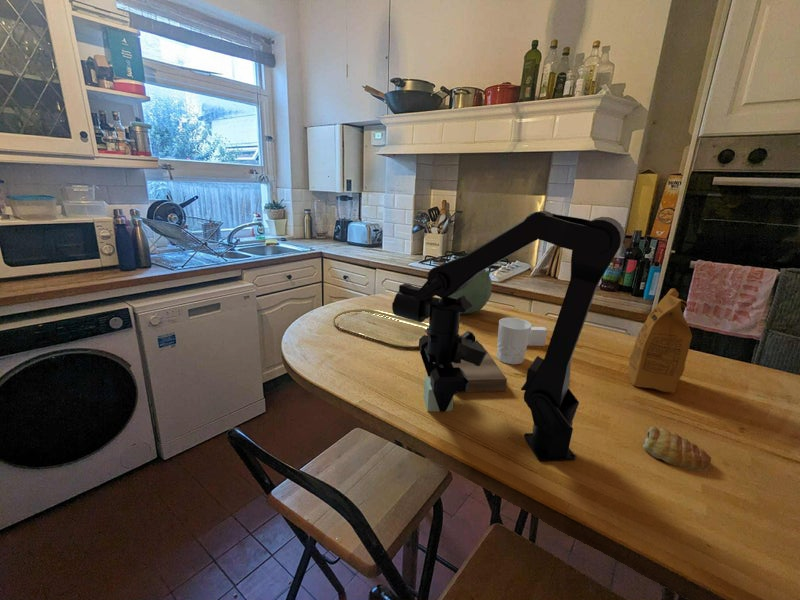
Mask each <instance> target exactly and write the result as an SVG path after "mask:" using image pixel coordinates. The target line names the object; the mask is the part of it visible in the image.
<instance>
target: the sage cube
mask: <svg viewBox="0 0 800 600" xmlns="http://www.w3.org/2000/svg"><path fill="white" fill-rule="evenodd" d="M430 382H431V379H430V377H428V376H424V384H423V385H424V386H423V400H424V404H425V407H426V412H440V411H439V408H438V405H437V402H436V399H435V396H434V393H433V390H432V387H431V384H430ZM453 403H454V396H453V397H452V399H451V401H450V404H449V406H448V408H447V410H446V412H452V411H453Z"/></svg>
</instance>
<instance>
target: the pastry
mask: <svg viewBox="0 0 800 600" xmlns="http://www.w3.org/2000/svg"><path fill="white" fill-rule="evenodd" d="M646 435H647V437H646V438H645V440H644V443H643V446H642V447H643V449H644V450H645V451H646V452H647V453H648V454H649V455H651V457H653V458H655V459H657V460H658V459H660V460H663V461H664V462H665V463H666V464H670V465H673V466H676V467H680V468H684V469H686V470H687V469H688V470H692V471H696V472H698V471H699V472H701V471H702V472H706V471H708V470H709V469H710V467H711V466H712V465H711V462H712V457H711V456H710V455H709V454H708V453H707V451H705V450H704V449H702V448H700V447H699V446H698V445H697V444H695V443H692V442H691V441H690V440H689V439H688V438H685V437H682V436H680V435H679V434H678V433H677V432H672V431H670V430H668V429H667V428H664V427H661V428H657V427H656V426H655V425H652V426H651V427H650V428H649V429H648V431H647V433H646Z"/></svg>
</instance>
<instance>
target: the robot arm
mask: <svg viewBox="0 0 800 600" xmlns="http://www.w3.org/2000/svg"><path fill="white" fill-rule="evenodd" d="M623 227H624V226H622V224H621V222H619V221H618V220H616V219H615V218H612V217H609V216H600V217H596V218H593V219H591V220H590V219H585V218H581V217H574V216H568V215H563V214H556V213H552V212H550V211H547V210H538V211H534V212H532V213H529V214H528V215H527V216H526V217H525V218H524V219H523V220H522V221H520V222H518V223H517V224H515V225H513V226H512V227H510V228H509V229H507V230H505V231H503V232H502V233H500V234H499V235H497V236H496V237H494V238H493V239H491V240H488V242H486V243H484V244H482V245H481V246H479V247H477V248H476V249H474V250H473V251H471V252H470V253H468V254H466V255H463V256H461V257H460V258H459V257H458V259H457V258H454V259H455V260H452V261H450V262H448V261H447V262H445V263H442V264H439V265H437V266H435V267H433V268H431V269H429V271H428V273H427V279H426V281H425V283H424V284H423V285H422V286H421V287H419V286H415V285H412V284H410V283H403V284H399V285H398V291H397V292H396V294H395V296H394V299H393V302H392V303H391V304H392V305H391V308H392V314H394V315H396V316H399V317H403V318H406V319H410V320H413V321H417V322H424V321H426V319H428V320H429V322H428V324H429V328H427V329H426V328H425V329H426V331H425V332H426V335H425V334H424V335H422V336H421V337H420V338H419V339H418V346H419V348H418V349H419V353H420V356H421V360H422V362H423V365H424V366H423V367H424V368H425V371H426V374H427V377H430V379H431V382H430V384H431V387H432V390H433V393H434V396H435V399H436V402H437V405H438V408H439V411H438V412H440V413H446V412H447V411H446V410H447V408H448V406H449V404H450V401H451V399H452V397H453V398H454V395H455V394H457V393H467V392H466V391H467V390H468V383H469V381H468V379H467V377H466V375H465V373H464V371H463V370H462V369H461V368H460V367H453V365H452V362H454V363H461V359H462V360H464V361H467V362H470V363H473V364H475V365H476V366H480V365H481V363H482V361H483V359H484V357H485V355H486V353H487V352H488V350H487V351H486V348H485V347H484V345H482V343H481V342H479V341H478V340H476V335H475V334H474V332H471V331H468V330H466V331H465V332H464V333H462V334H459V329H460V320H461V319H460V318H461V314H462V313H464V312H466V311H467V310H469V309H470V308H472V304H471V303H470V302H469V301H468V300H467V299H466V297H465V296H461V297H460V298H458V299H457V298H453V297H448V296H450V295H452V294H454V293H456V292H458V291H459V290H461V289H463V288H464V287H466V286H467V285H468V284H469V283H470V282H471V281H473V280H474V279H475V278H476V277H477V276H478V275H479V274H480V273H481V272H482V271H484V270H485V271H486V269H488V268H490V267H491V266H494V265H495V264H497V263H498V262H500V261H502V260H504V259H506V258H507V257H509V256H511V255H513V254H515V253H516V252H518V251H520V250H521V249H523V248H525V247H527V246H529V245H531V244H532V243H534V242H535V241H538V240H539V241H544V242H546V243H549V244H551V245H554V246H557V247H560V248H563V249H566V250H571V258H570V279H569V281H568V282H569V283H568V286H567V289H566V292H565V295H564V298H563V300H562V304H561V307H560V309H559V310H560V311H559V313H558V316H557V319H556V321H555V325H554V329H553V331H552V333H551V338H550V340H549V343H548V347H547V349H546V352H545V356H544V358H542V357H541V356H538V355H537V356H536V358H534V360H533V362H531V364H530V366H529V367H528V368H527V372H526V377H525V379H526V380H525V382H524V384H523V385H522V386H521V388H520V390H521V391H524V394H523V399H524V402H525V404H526V405H527V407H528V409H530V412H531V416H532V421H533V427H532V432H529V433H528V432H527V433H524V434H523V438H524V439H525V440H526V443H527V444H528V446H529V447H530V449H531V450H532V453H534V456H535V457H536V458H537V460H538V461H540V462H552V461H553V462H554V461H555V462H556V461H558V462H559V461H574V460H575V459H576V455H575V454H574V452H573V451H572V450H571V448H570V444H571V441H572V435H573V432H574V428H573V423H574V422H573V421H574V418H575V415H576V413H577V410H578V407H579V405H580V401H579V400H578V399H577V397H576V396H575V394H573V392H572V391H571V389H570V388H569V386H570V379H571V365H572V362H571V361H572V358H573V355H574V353H575V349H576V346H577V344H578V341H579V338H580V335H581V333H582V330H583V328H584V324H585V322H586V319H587V316H588V314H589V311H590V307H591V305H592V302H593V300H594V297H595V295H596V292H597V288H598V286H599V283H600V281H601V280H602V278H603V276H604V275H605V273H606V271H607V270H608V268H609V267H610V265H611V263H612V261H613V260H614V258H615V256H616V255H617V254H618V251H619V250H620V248H621V246H622V245H623V244H624V240H625V235H626V233H625V230H624V229H625V228H623ZM435 296H437V297H435ZM460 312H462V313H460Z"/></svg>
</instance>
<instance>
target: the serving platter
mask: <svg viewBox="0 0 800 600" xmlns="http://www.w3.org/2000/svg"><path fill="white" fill-rule="evenodd" d="M362 311H365V312H368V313H369V312H370V313H375V314H379V315H383V316H386V317H389V318H388V319H390V318H392V320H394V319H396V320H395V321H397V320H399V321H398V322H402V323H406V324H409V325H412V326H415V327H420V328H423V329H427V328H429V323H426V322H424V321H423V322H417V321H413V320H410V319H406V318H403V317H399V316H396V315H395V314H394V313H389V312H385V311H381V310H378V309H371V308H359V309H349V310H345V311H342V312H340V313H338V314H336V315H335V316H334V317H333V321H332V323H333V324H334V326H335V327H336V328H337V329H339V328H340V329H339V330H341V329H342V330H341V331H343V330H344V331H343V332H346V331H348V332H347V333H349V332H351V333H350V334H352V333H354V334H353V335H355V334H357V335H356V336H358V335H360V336H359V337H362V336H363V337H362V338H365V337H366V338H365V339H368V338H369V339H368V340H371V339H372V341H374V340H375V342H377V341H378V342H379V343H381V344H385V345H387V346H390V345H391V347H394V348H398V349H406V350H407V349H408V350H411V349H412V350H414V349H415V350H416V349H419V345H401V344H395V343H392V342H389V341H385V340H381V339H378V338H375V337H373V336H369V335H366V334H362V333H360V332H356V331H353V330H349V329H346V328H343V327H342V326H340V325H339V324H338V325H339V326H338V325H336V323H335V319H336V318H337V317H338V316H340V315H342V314H346V313H350V312H362ZM375 314H374V315H375ZM379 315H378V316H379ZM383 316H382V317H383ZM386 317H385V318H386Z"/></svg>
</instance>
